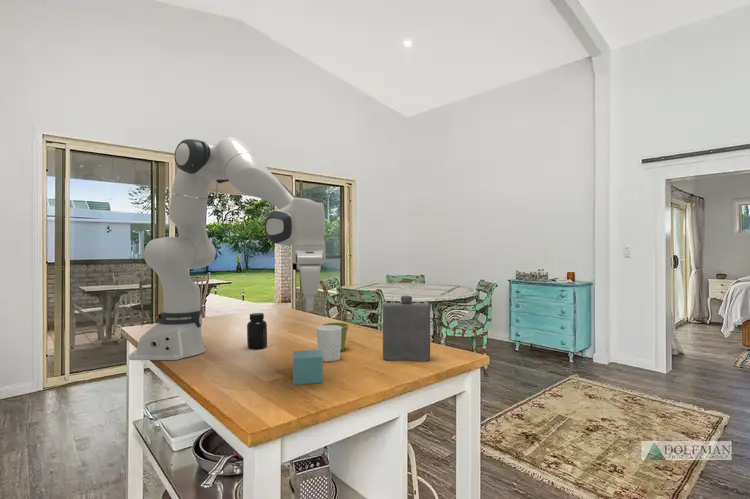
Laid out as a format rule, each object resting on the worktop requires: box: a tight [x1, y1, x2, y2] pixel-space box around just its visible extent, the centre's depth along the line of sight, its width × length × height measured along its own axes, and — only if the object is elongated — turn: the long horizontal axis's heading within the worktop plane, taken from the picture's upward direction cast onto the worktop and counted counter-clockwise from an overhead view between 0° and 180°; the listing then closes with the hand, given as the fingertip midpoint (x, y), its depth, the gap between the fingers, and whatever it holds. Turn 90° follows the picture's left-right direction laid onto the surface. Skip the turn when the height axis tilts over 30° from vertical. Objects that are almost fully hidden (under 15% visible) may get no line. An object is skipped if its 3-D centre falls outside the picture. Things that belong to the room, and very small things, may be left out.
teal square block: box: [292, 349, 324, 386], centre depth 108 cm, size 8×8×7 cm
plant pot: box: [321, 322, 350, 352], centre depth 139 cm, size 9×9×9 cm
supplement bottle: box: [246, 312, 268, 351], centre depth 143 cm, size 7×7×12 cm
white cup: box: [316, 325, 342, 362], centre depth 128 cm, size 8×8×10 cm
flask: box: [382, 295, 431, 362], centre depth 128 cm, size 15×6×20 cm, turn 84°
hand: (309, 308), depth 108 cm, fingers open, 8 cm apart
